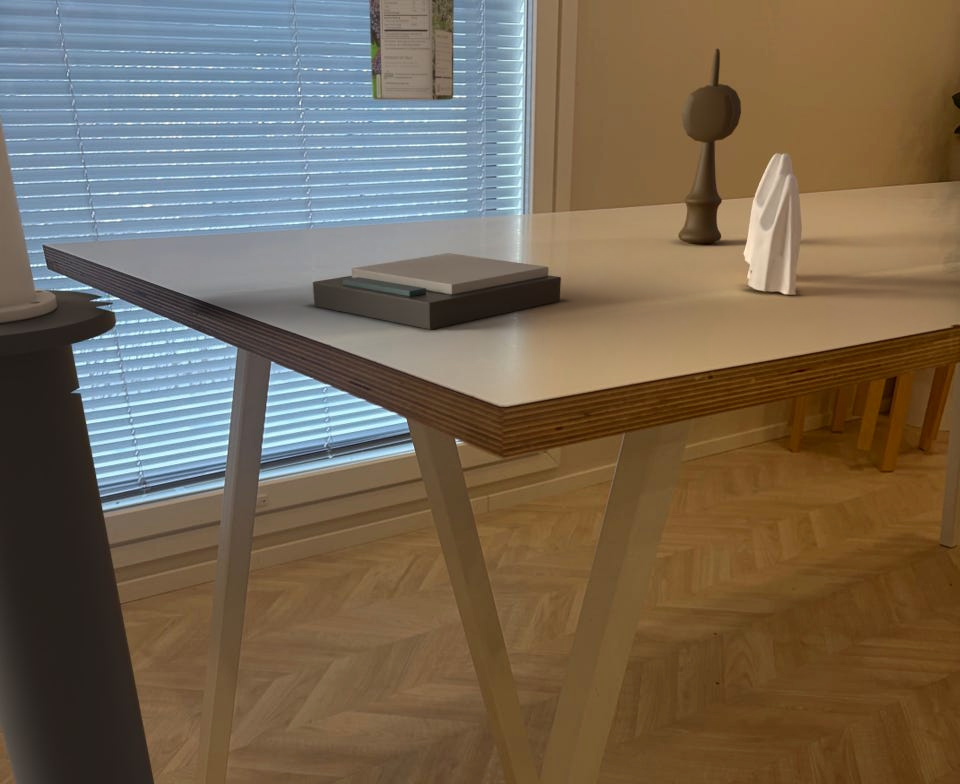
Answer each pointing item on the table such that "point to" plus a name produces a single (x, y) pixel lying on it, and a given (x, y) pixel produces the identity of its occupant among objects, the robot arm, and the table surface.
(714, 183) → the kendama
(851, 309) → the table surface
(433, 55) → the syrup box
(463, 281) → the scale
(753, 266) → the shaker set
